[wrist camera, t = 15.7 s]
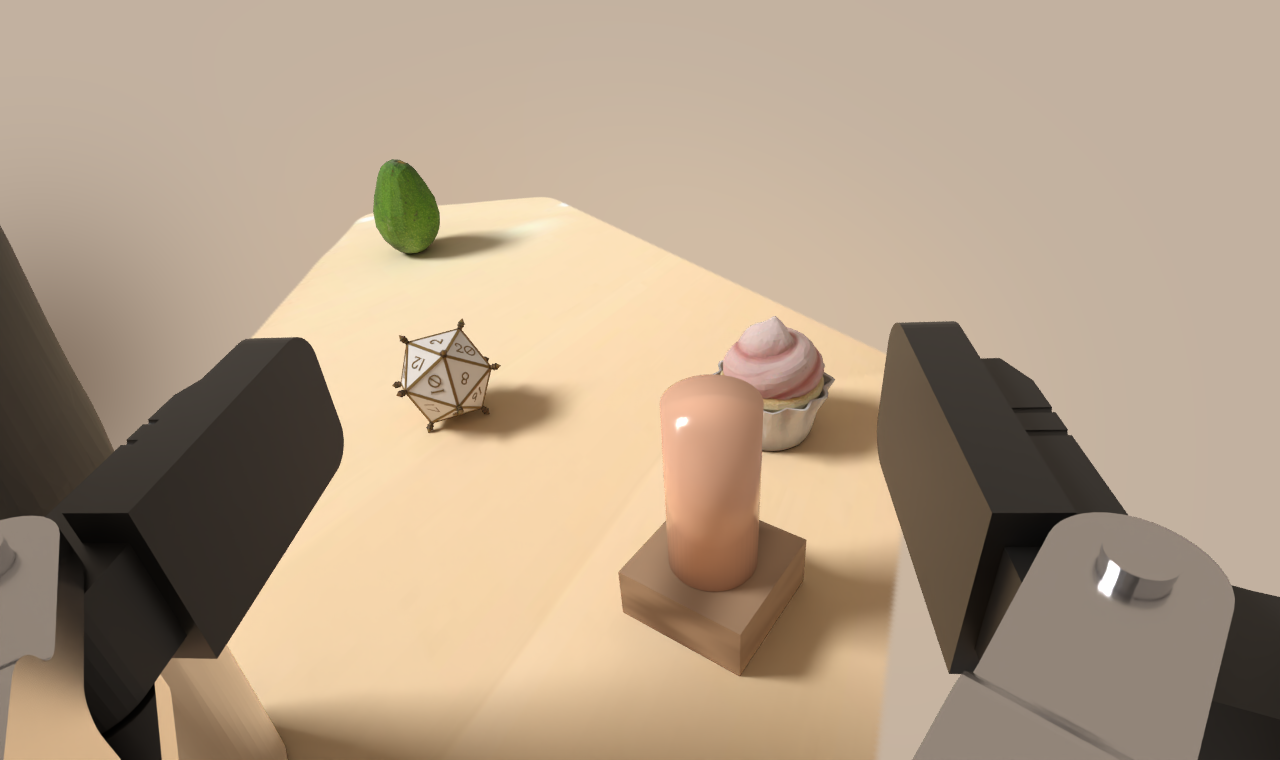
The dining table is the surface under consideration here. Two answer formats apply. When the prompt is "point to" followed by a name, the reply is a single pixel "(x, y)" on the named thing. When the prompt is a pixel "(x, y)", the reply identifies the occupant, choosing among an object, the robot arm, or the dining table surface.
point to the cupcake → (780, 379)
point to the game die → (444, 375)
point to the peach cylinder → (712, 479)
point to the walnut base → (714, 598)
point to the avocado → (405, 208)
